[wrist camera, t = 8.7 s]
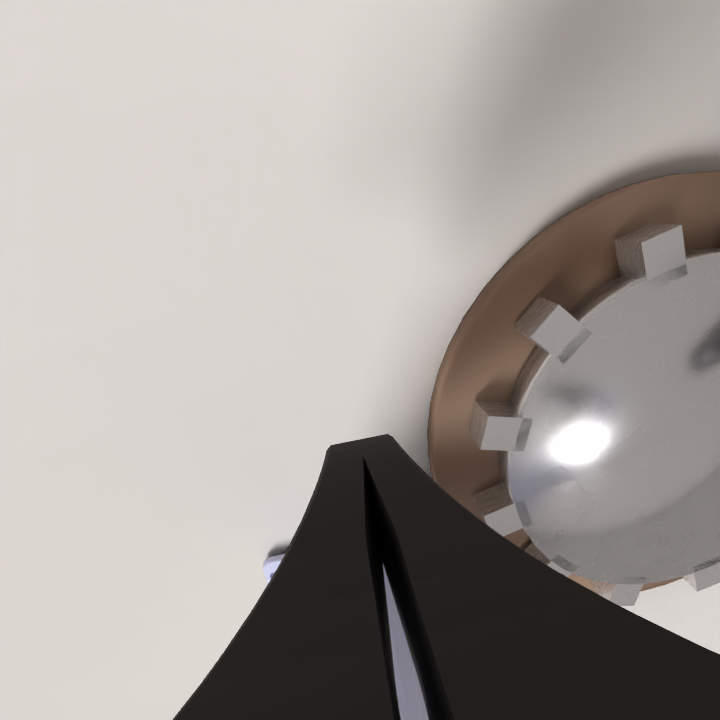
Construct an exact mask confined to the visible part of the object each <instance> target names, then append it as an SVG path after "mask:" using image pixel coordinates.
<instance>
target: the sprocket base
mask: <svg viewBox="0 0 720 720" xmlns="http://www.w3.org/2000/svg"><path fill="white" fill-rule="evenodd" d="M651 223H654V224H674V225H682V231H683V239H684V247H685V251H688V250H698V249H708V248H720V171H711V172H699V173H689V174H679V175H669V176H662V177H658V178H654V179H650V180H646V181H642V182H638V183H634V184H631V185H628V186H625V187H623V188H620V189H618V190H615V191H613V192H610V193H608V194H605V195H603V196H600V197H598V198H596V199H594V200H592V201H590V202H588V203H587V204H585V205H583V206H581V207H579V208H577V209H576V210H574V211H572V212H570V213H568V214H566V215H565V216H563V217H562V218H561V219H559V220H558V221H556V222H555V223H553V224H552V225H551V226H549V227H548V228H546V229H545V230H544V231H542V232H541V233H539V234H538V235H537V236H535V237H534V238H533V239H532V240H531V241H530V242H528V243H527V244H526V245H525V246H524V247H523V248H522V249H521V250H520V251H518V252H517V253H516V254H515V255H514V256H513V257H512V258H511V259H510V260H508V261H507V263H506V264H505V265H504V266H503V267H502V268H501V269H500V271H499V272H498V273H497V274H496V275H495V276H494V277H493V278H492V280H491V281H490V282H489V283H488V284H487V285H486V286H485V287H484V289H483V290H482V292H481V293H480V294H479V296H478V297H477V299H476V300H475V302H474V303H473V304H472V306H471V307H470V309H469V310H468V312H467V313H466V315H465V316H464V318H463V320H462V321H461V323H460V325H459V327H458V329H457V331H456V333H455V334H454V336H453V338H452V340H451V342H450V344H449V346H448V348H447V351H446V353H445V356H444V359H443V361H442V364H441V366H440V369H439V372H438V374H437V378H436V382H435V386H434V390H433V394H432V398H431V402H430V410H429V420H428V430H427V434H428V457H429V462H430V467H431V472H432V477H433V480H434V481H435V482H436V483H437V484H438V485H439V486H440V487H441V488H443V489H444V490H445V491H446V492H447V493H448V494H449V495H451V496H452V497H453V498H454V499H455V500H456V501H458V502H459V503H460V504H461V505H462V506H464V507H465V508H466V509H467V510H469V511H470V512H471V513H472V514H474V515H475V516H476V517H477V518H479V519H480V520H481V521H482V519H481V517H480V515H479V512H478V510H477V507H476V505H475V502H474V500H473V497H472V495H474V494H476V493H479V492H481V491H483V490H486V489H488V488H490V487H493V486H495V485H497V484H500V483H501V482H500V478H499V468H498V450H480V448H479V447H478V445H477V444H476V443H475V441H474V440H473V438H472V437H471V435H470V434H469V433H468V430H469V425H470V421H471V417H472V412H473V408H474V404H475V401H491V402H508V399H509V396H510V394H511V392H512V390H513V388H514V386H515V383H516V381H517V379H518V377H519V375H520V373H521V371H522V370H523V368H524V367H525V365H526V363H527V362H528V360H529V358H530V357H531V355H532V354H533V352H534V351H535V350H536V348H537V346H536V345H535V344H534V343H532V342H531V341H530V340H529V339H527V338H526V337H525V336H524V335H522V334H521V333H520V332H519V331H517V330H516V329H515V328H514V325H515V324H516V323H517V322H518V321H519V320H520V318H521V317H522V316H523V315H524V314H525V312H526V311H527V310H528V309H529V308H530V307H531V305H532V304H533V303H534V302H535V301H536V299H537V298H538V297H541V298H544V299H546V300H549V301H551V302H554V303H556V304H559V305H560V306H561V307H562V308H564V309H565V310H566V311H567V312H569V311H570V310H572V309H573V308H574V307H575V306H576V305H578V304H579V303H580V302H581V301H582V300H584V299H585V298H586V297H587V296H588V295H590V294H591V293H593V292H594V291H596V290H597V289H599V288H600V287H602V286H603V285H605V284H606V283H608V282H609V281H611V280H612V279H614V278H616V277H618V276H620V271H619V265H618V260H617V254H616V249H615V244H614V240H615V239H617V238H619V237H621V236H624V235H626V234H628V233H630V232H633V231H635V230H637V229H639V228H642V227H644V226H646V225H648V224H651ZM503 537H505V538H506V539H508V540H509V541H511V542H512V543H514V544H515V545H517V546H518V547H520V548H521V549H522V550H525V549H526V548H527V547H528V546H529V545H530V544H531V543H532V540H531V539H530V538H529V536H528V535H527V533H526V532H525V530H524V529H523V528H522V529H520V530H517V531H515V532H513V533H510V534H508V535H506V536H503ZM568 578H570V579H572V580H574V581H575V582H577V583H579V584H581V585H582V586H584V587H586V588H588V589H590V590H591V591H593V592H595V593H597V592H596V590H595V589H594V588H593V586H592V585H591V584H590V579H587V578H584V577H581V576H577V575H575V574H573V573H572V574H571V575H570V576H569V577H568ZM682 578H683V577H678V578H674V579H671V580H666V581H660V582H654V583H645V584H643V586H642V589H641V591H644V590H648V589H651V588H655V587H659V586H662V585H666V584H668V583H671V582H674V581H676V580H679V579H682ZM597 594H598V593H597Z"/></svg>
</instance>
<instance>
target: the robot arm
mask: <svg viewBox="0 0 720 720" xmlns="http://www.w3.org/2000/svg"><path fill="white" fill-rule="evenodd" d="M263 571H264V574H265V577H266V580H267V583H268V585H267V587H266V588H265V590H264V592H263V593H262V595H261V597H260V598H259V600H258V602H257V603H256V605H255V606H254V608H253V610H252V611H251V613H250V614H249V616H248V617H247V619H246V620H245V622H244V623H243V625H242V626H241V628H240V629H239V630H238V632H237V633H236V635H235V636H234V638H233V639H232V641H231V642H230V644H229V645H228V647H227V648H226V650H225V651H224V653H223V654H222V655H221V657H220V658H219V660H218V661H217V662H216V664H215V665H214V667H213V668H212V669H211V671H210V672H209V673H208V675H207V676H206V678H205V679H204V680H203V682H202V683H201V684H200V686H199V687H198V688H197V689H196V691H195V692H194V693H193V694H192V696H191V697H190V698H189V700H188V701H187V702H186V703H185V705H184V706H183V707H182V708H181V710H180V711H179V712H178V714H177V715H176V716H175V717H174V719H173V720H720V654H717V653H715V652H713V651H710V650H708V649H706V648H704V647H702V646H700V645H698V644H695V643H693V642H691V641H689V640H687V639H685V638H683V637H681V636H679V635H677V634H675V633H673V632H671V631H669V630H667V629H665V628H663V627H660V626H658V625H656V624H654V623H652V622H650V621H648V620H646V619H644V618H642V617H640V616H638V615H636V614H634V613H632V612H630V611H628V610H626V609H624V608H622V607H620V606H619V605H617V604H615V603H613V602H611V601H609V600H608V599H606V598H604V597H602V596H600V595H599V594H597V593H595V592H593V591H591V590H590V589H588V588H586V587H584V586H582V585H581V584H579V583H577V582H575V581H574V580H572V579H570V578H568V577H566V576H565V575H563V574H561V573H559V572H557V571H556V570H554V569H552V568H551V567H549V566H548V565H546V564H544V563H543V562H541V561H540V560H538V559H536V558H535V557H533V556H532V555H530V554H528V553H527V552H525V551H524V550H522V549H521V548H520V547H518V546H517V545H515V544H514V543H512V542H511V541H509V540H508V539H506V538H505V537H503V536H502V535H500V534H499V533H498V532H496V531H495V530H494V529H492V528H491V527H489V526H488V525H487V524H485V523H484V522H483V521H481V520H480V519H479V518H477V517H476V516H475V515H474V514H472V513H471V512H470V511H469V510H467V509H466V508H465V507H464V506H462V505H461V504H460V503H459V502H458V501H456V500H455V499H454V498H453V497H452V496H451V495H449V494H448V493H447V492H446V491H445V490H444V489H443V488H441V487H440V486H439V485H438V484H437V483H436V482H435V481H434V480H433V479H432V478H431V477H429V476H428V475H427V474H426V473H425V472H424V471H423V470H422V469H421V468H420V467H419V466H418V465H417V464H416V463H415V462H414V461H413V460H412V459H411V458H410V457H409V455H408V454H407V453H406V452H405V451H404V450H403V449H402V448H401V447H400V445H399V444H398V443H397V442H396V440H395V439H394V438H393V437H392V436H390V435H389V434H385V435H380V436H375V437H370V438H365V439H360V440H355V441H350V442H345V443H340V444H335V445H331V446H330V447H329V448H328V450H327V451H326V456H325V460H324V464H323V467H322V470H321V473H320V476H319V479H318V482H317V485H316V487H315V490H314V492H313V495H312V497H311V500H310V502H309V504H308V507H307V509H306V512H305V514H304V516H303V518H302V521H301V523H300V525H299V527H298V529H297V531H296V533H295V535H294V537H293V539H292V541H291V543H290V545H289V547H288V549H287V551H286V553H285V554H282V555H277V556H272V557H269V558H267V559H266V560H265V561H264V565H263ZM273 572H275V573H274V574H273Z"/></svg>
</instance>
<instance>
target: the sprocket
mask: <svg viewBox="0 0 720 720" xmlns="http://www.w3.org/2000/svg"><path fill="white" fill-rule="evenodd" d="M614 244H615V249H616V254H617V260H618V265H619V271H620V276H618V277H616V278H614V279H612V280H611V281H609V282H608V283H606V284H605V285H603V286H602V287H600V288H599V289H597V290H596V291H594V292H593V293H591V294H590V295H588V296H587V297H586V298H585V299H584V300H582V301H581V302H580V303H579V304H578V305H576V306H575V307H574V308H573V309H572V310H570V311H569V312H567V311H566V310H565V309H564V308H562V307H561V306H560V305H559V304H556V303H554V302H551V301H549V300H546V299H544V298H541V297H538V298H537V299H536V301H535V302H534V303H533V304H532V305H531V307H530V308H529V309H528V310H527V311H526V312H525V314H524V315H523V316H522V317H521V318H520V320H519V321H518V322H517V323H516V324H515V325H514V328H515V329H516V330H517V331H519V332H520V333H521V334H522V335H524V336H525V337H526V338H527V339H529V340H530V341H531V342H532V343H534V344H535V345H536V346H537V348H536V350H535V351H534V352H533V354H532V355H531V357H530V358H529V360H528V362H527V363H526V365H525V367H524V368H523V370H522V371H521V373H520V375H519V377H518V379H517V381H516V383H515V386H514V388H513V390H512V392H511V394H510V396H509V399H508V402H491V401H475V404H474V408H473V412H472V417H471V421H470V425H469V430H468V433H469V434H470V435H471V437H472V438H473V440H474V441H475V443H476V444H477V445H478V447H479V448H480V450H498V468H499V478H500V482H501V483H500V484H497V485H495V486H493V487H490V488H488V489H486V490H483V491H481V492H479V493H476V494H474V495H472V497H473V500H474V502H475V505H476V507H477V510H478V512H479V515H480V517H481V519H482V521H483V522H484V523H485V524H487V525H488V526H489V527H491V528H492V529H494V530H495V531H496V532H498V533H499V534H500V535H502V536H506V535H508V534H510V533H513V532H515V531H517V530H520V529H522V528H523V529H524V530H525V532H526V533H527V535H528V536H529V538H530V539H531V540H532V543H531V544H530V545H529V546H528V547H527V548H526V549H525V550H524V551H525V552H527V553H528V554H530V555H532V556H533V557H535V558H536V559H538V560H540V561H541V562H543V563H544V564H546V565H548V566H549V567H551V568H552V569H554V570H556V571H557V572H559V573H561V574H563V575H565V576H566V577H569V576H570V575H571V574H572V573H573V574H575V575H577V576H581V577H584V578H587V579H590V584H591V585H592V586H593V588H594V589H595V590H596V592H597V593H598V594H599V595H600V596H602V597H604V598H606V599H608V600H609V601H611V602H613V603H615V604H617V605H619V606H631V605H634V604H635V602H636V600H637V597H638V595H639V593H640V591H641V589H642V586H643V584H645V583H654V582H660V581H666V580H671V579H674V578H678V577H683V578H684V579H685V580H686V581H687V582H688V583H689V584H690V585H691V586H692V587H693V588H694V589H695V590H696V591H697V592H698V591H700V590H702V589H705V588H707V587H710V586H712V585H715V584H717V583H720V248H708V249H698V250H688V251H685V247H684V239H683V231H682V225H674V224H654V223H651V224H648V225H646V226H644V227H642V228H639V229H637V230H635V231H633V232H630V233H628V234H626V235H624V236H621V237H619V238H617V239H615V240H614Z"/></svg>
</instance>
